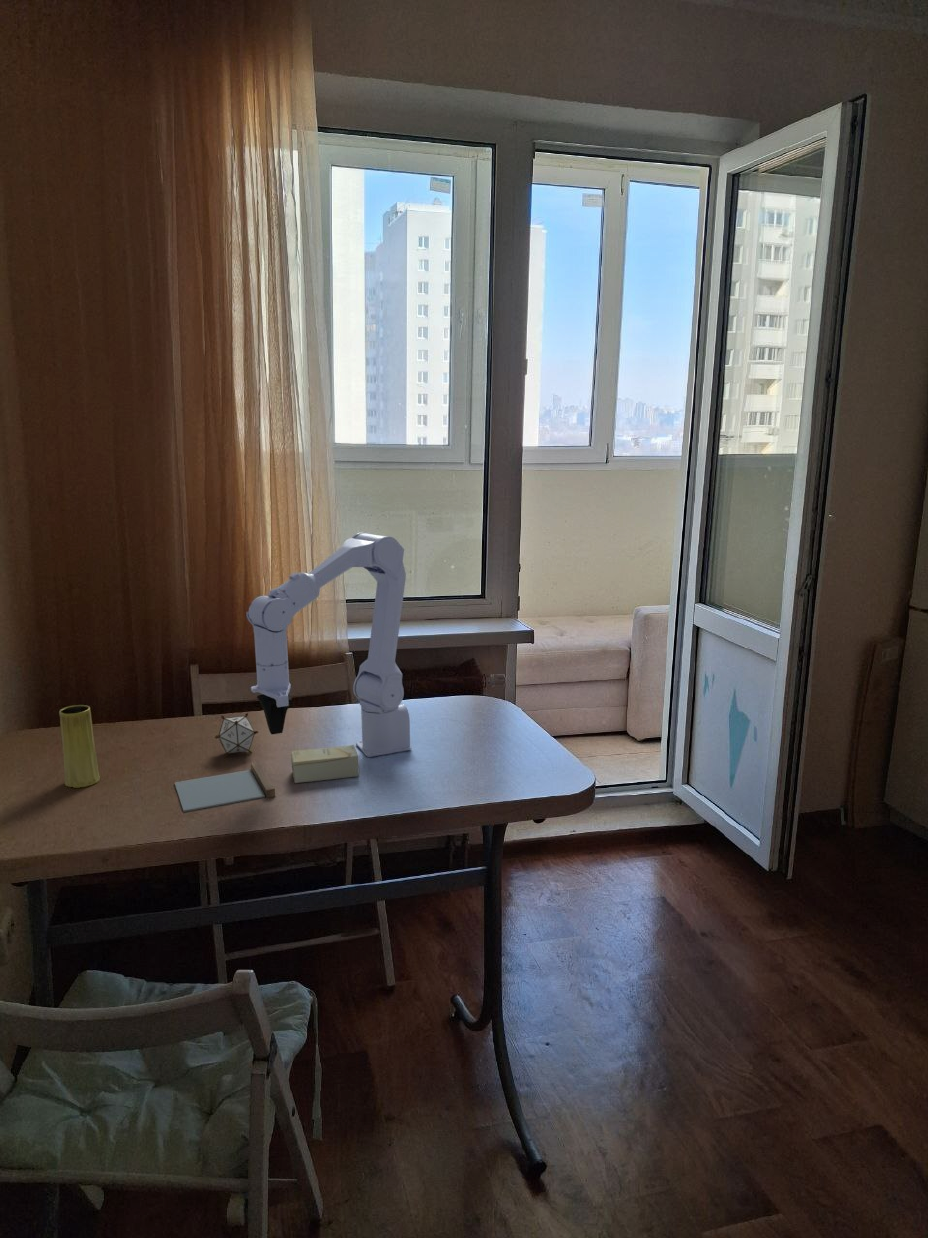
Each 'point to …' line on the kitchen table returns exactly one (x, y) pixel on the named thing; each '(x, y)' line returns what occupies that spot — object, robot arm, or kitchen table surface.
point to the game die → (236, 734)
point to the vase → (78, 746)
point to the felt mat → (218, 790)
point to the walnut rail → (263, 779)
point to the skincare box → (324, 764)
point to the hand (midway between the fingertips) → (276, 732)
